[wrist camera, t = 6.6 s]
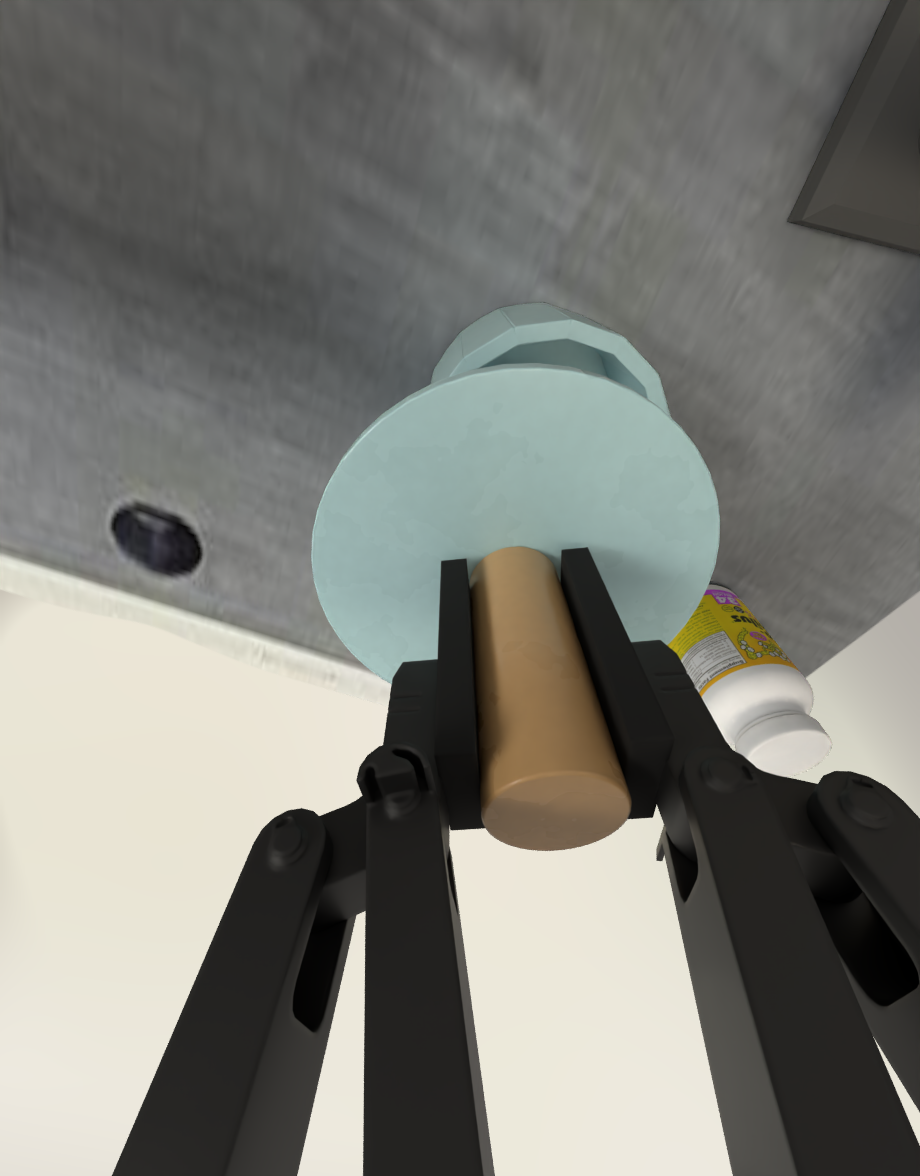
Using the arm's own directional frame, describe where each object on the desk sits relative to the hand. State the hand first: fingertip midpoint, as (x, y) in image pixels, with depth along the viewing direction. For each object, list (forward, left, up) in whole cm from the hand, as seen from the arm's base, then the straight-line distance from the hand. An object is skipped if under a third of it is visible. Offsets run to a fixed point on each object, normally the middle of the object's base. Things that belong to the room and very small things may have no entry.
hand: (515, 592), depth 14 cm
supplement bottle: (+17, +15, -17) cm, 28 cm away
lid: (0, 0, -1) cm, 1 cm away
